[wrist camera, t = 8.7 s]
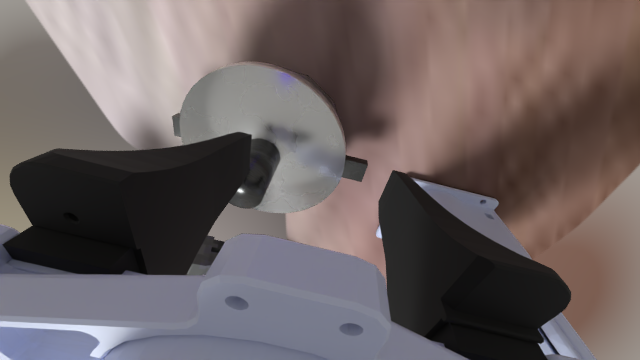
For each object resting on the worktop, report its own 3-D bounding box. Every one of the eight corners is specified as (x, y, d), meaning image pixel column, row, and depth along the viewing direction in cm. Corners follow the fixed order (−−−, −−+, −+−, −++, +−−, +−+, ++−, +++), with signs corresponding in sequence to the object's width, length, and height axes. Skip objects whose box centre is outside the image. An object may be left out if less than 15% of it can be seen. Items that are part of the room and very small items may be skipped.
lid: (362, 73, 15) (363, 112, 10) (334, 206, 22) (327, 265, 17) (177, 44, 15) (95, 69, 10) (210, 185, 22) (170, 237, 18)
